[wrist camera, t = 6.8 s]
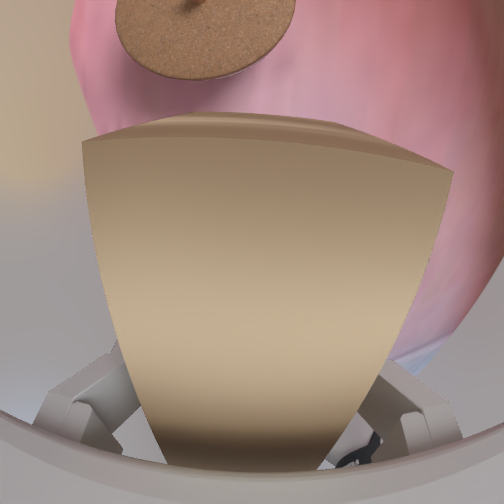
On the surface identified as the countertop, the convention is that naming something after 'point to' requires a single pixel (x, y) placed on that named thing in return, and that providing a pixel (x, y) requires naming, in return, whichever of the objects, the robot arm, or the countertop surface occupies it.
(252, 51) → the lidded jar
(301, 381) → the beech block
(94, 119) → the countertop surface
